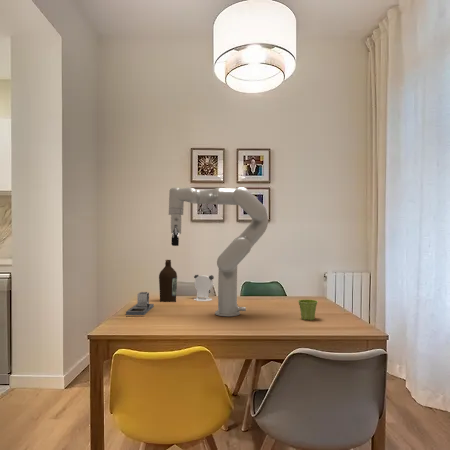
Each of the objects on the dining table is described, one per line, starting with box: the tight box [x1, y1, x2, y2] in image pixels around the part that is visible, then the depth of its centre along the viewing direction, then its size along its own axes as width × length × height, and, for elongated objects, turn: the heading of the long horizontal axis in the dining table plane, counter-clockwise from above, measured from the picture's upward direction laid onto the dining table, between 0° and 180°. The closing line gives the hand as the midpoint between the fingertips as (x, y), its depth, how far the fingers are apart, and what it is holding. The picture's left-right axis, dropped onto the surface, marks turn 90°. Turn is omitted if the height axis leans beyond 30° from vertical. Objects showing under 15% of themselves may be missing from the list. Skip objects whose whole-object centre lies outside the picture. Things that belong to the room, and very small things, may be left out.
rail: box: [125, 303, 154, 318], centre depth 210 cm, size 9×22×2 cm, turn 178°
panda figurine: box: [193, 274, 215, 302], centre depth 250 cm, size 12×11×15 cm
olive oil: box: [158, 259, 178, 303], centre depth 240 cm, size 11×11×25 cm
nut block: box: [136, 291, 150, 307], centre depth 216 cm, size 5×5×8 cm
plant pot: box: [297, 299, 319, 321], centre depth 196 cm, size 9×9×9 cm
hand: (174, 245), depth 209 cm, fingers open, 9 cm apart
